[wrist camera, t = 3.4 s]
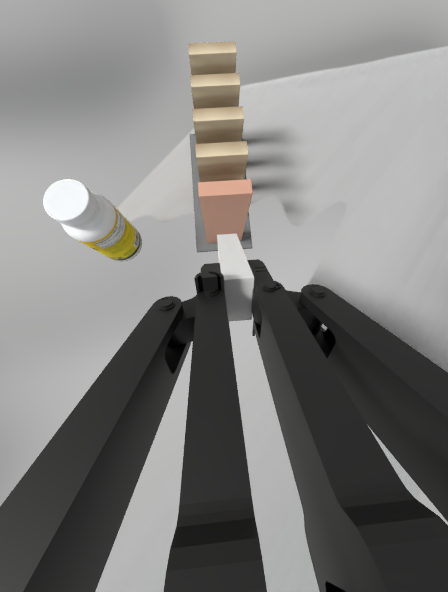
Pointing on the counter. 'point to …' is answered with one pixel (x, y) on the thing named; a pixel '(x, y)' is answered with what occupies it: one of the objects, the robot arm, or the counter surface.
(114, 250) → the pill bottle
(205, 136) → the domino
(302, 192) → the counter surface
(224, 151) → the domino
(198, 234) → the mat
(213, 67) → the domino
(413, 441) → the robot arm
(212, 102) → the domino
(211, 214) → the domino
